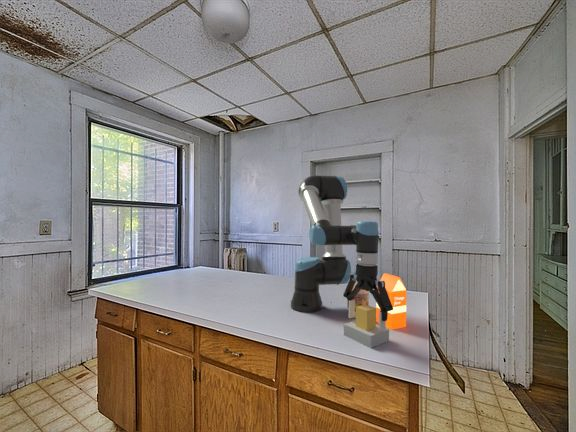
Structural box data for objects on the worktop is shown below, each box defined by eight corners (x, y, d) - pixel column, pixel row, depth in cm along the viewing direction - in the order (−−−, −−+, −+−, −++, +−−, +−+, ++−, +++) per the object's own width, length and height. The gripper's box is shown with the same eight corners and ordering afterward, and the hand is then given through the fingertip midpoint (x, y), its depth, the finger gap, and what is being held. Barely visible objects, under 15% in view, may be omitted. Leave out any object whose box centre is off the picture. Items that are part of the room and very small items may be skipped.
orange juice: (391, 329, 107) (392, 278, 107) (375, 321, 115) (376, 273, 115) (406, 326, 110) (407, 276, 110) (390, 318, 118) (390, 272, 118)
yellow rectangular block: (355, 326, 99) (355, 306, 99) (364, 323, 102) (364, 304, 102) (366, 331, 95) (366, 310, 95) (375, 327, 98) (376, 308, 98)
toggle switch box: (343, 335, 101) (344, 311, 101) (361, 328, 107) (362, 307, 107) (370, 348, 91) (370, 322, 91) (388, 340, 97) (389, 316, 97)
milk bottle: (347, 313, 124) (348, 268, 124) (364, 312, 125) (365, 268, 125) (353, 319, 116) (354, 272, 117) (371, 319, 117) (371, 272, 117)
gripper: (334, 260, 107) (333, 314, 107) (390, 271, 87) (389, 338, 87) (348, 258, 111) (347, 311, 111) (404, 268, 91) (403, 333, 91)
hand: (366, 323), depth 99 cm, fingers open, 13 cm apart
